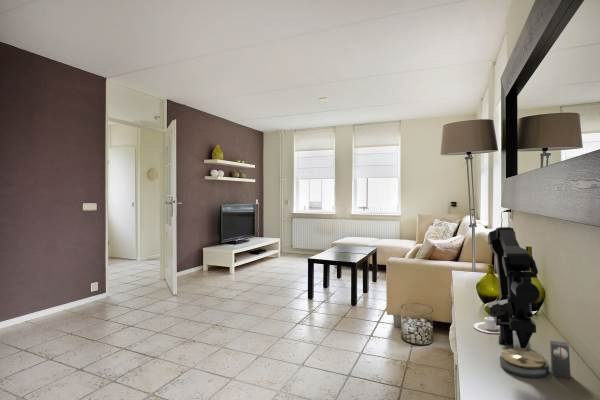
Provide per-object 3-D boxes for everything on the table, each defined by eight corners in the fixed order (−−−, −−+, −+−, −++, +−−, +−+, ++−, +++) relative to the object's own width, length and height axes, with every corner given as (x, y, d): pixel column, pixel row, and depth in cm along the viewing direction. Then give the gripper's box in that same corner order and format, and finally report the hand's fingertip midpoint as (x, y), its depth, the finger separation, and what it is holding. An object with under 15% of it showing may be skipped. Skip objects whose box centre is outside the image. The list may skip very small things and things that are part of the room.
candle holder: (478, 334, 132) (477, 323, 132) (470, 323, 144) (469, 313, 144) (512, 335, 129) (512, 324, 130) (502, 324, 141) (501, 313, 141)
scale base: (499, 356, 113) (498, 328, 113) (565, 365, 104) (563, 336, 105) (500, 373, 102) (498, 342, 102) (573, 385, 94) (571, 352, 94)
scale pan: (501, 349, 112) (501, 346, 112) (543, 355, 107) (543, 352, 107) (502, 364, 102) (502, 360, 102) (548, 371, 97) (548, 368, 97)
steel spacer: (513, 344, 108) (512, 328, 108) (530, 346, 105) (529, 330, 106) (514, 350, 104) (513, 333, 104) (531, 352, 102) (530, 335, 102)
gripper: (489, 284, 117) (492, 330, 117) (488, 299, 101) (491, 353, 100) (528, 287, 111) (531, 335, 111) (534, 303, 95) (538, 360, 95)
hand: (522, 345), depth 105 cm, fingers closed on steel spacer, 4 cm apart
